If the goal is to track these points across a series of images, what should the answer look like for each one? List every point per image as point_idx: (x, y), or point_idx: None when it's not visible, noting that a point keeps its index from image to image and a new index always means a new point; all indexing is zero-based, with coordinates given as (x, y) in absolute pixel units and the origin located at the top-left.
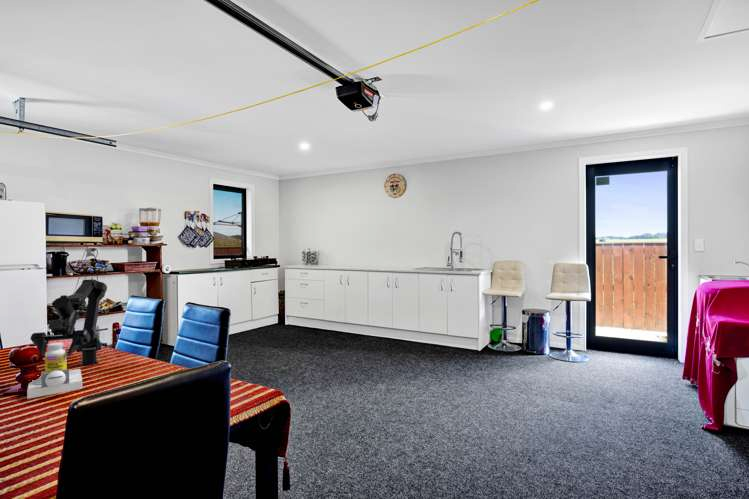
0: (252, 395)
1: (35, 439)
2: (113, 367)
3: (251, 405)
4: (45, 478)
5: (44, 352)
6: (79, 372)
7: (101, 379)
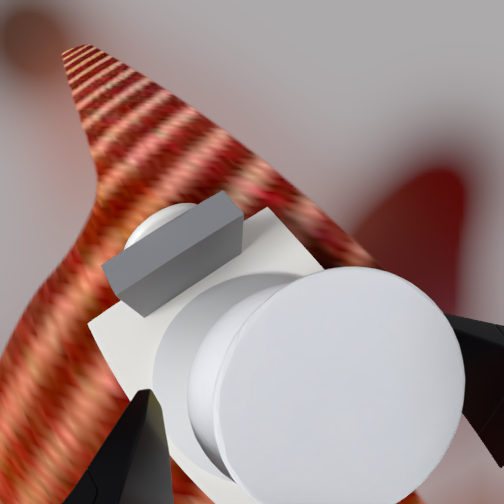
0: None
1: (95, 77)
2: None
3: None
4: (66, 55)
5: None
6: (210, 490)
7: None
